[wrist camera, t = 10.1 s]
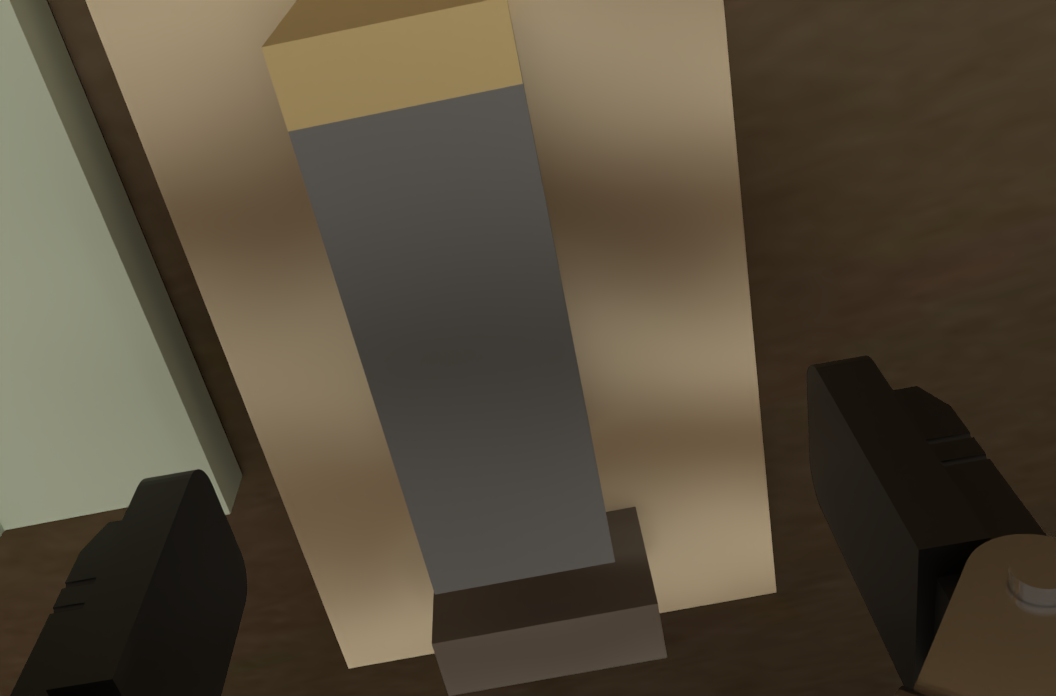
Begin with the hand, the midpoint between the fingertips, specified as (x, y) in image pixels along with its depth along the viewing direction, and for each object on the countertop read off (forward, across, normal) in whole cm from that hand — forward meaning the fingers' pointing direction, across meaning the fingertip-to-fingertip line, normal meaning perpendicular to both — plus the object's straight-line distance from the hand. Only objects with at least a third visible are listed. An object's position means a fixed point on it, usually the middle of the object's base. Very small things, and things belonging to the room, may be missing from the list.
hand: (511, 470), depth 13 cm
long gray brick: (+8, +1, 0) cm, 8 cm away
